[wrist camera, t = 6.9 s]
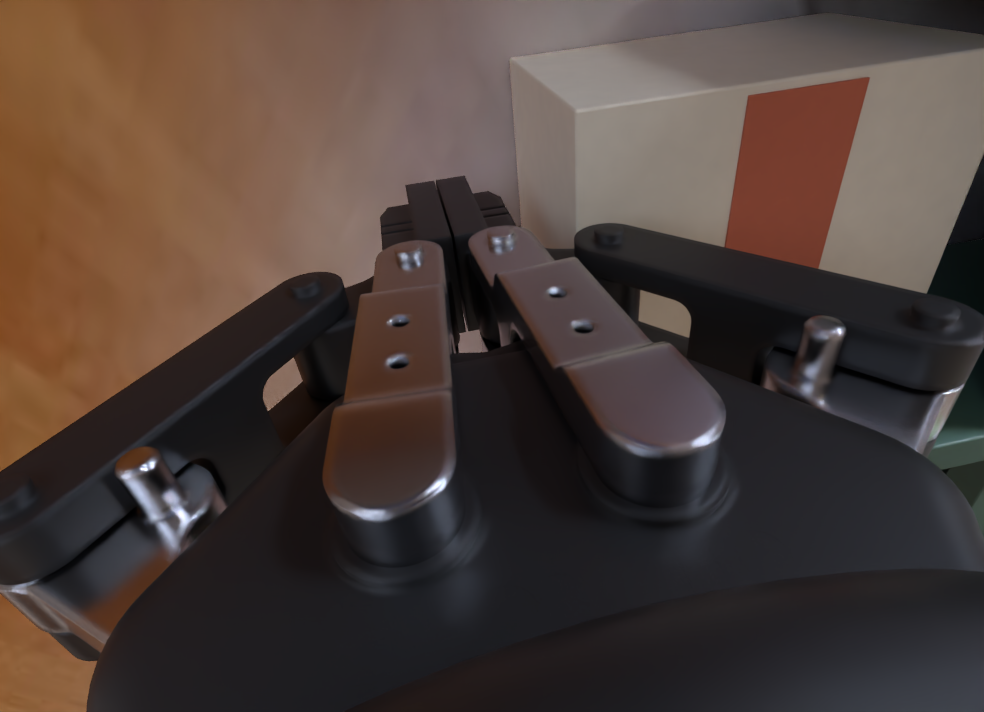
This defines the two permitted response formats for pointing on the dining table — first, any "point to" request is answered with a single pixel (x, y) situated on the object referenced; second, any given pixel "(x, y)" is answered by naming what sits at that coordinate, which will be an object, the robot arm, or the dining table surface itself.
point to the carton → (759, 143)
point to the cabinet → (980, 406)
